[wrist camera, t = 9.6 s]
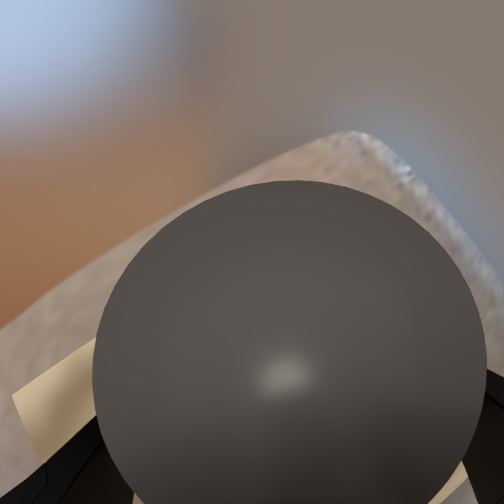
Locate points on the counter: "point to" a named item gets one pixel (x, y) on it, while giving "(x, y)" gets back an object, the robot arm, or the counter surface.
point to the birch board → (91, 410)
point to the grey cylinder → (289, 354)
